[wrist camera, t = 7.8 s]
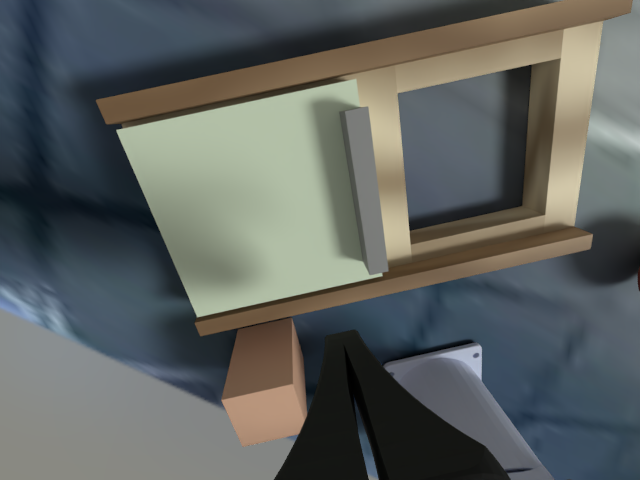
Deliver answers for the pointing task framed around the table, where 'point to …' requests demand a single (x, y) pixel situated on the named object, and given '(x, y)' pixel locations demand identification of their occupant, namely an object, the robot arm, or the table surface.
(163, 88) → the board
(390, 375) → the robot arm
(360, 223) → the lid
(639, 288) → the onion
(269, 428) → the block
